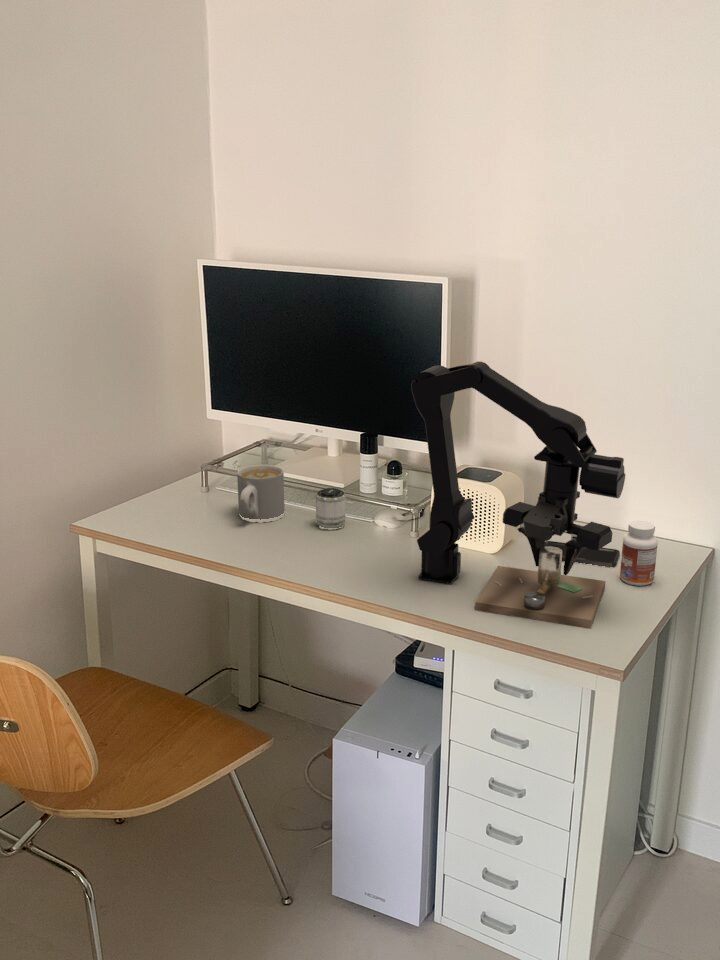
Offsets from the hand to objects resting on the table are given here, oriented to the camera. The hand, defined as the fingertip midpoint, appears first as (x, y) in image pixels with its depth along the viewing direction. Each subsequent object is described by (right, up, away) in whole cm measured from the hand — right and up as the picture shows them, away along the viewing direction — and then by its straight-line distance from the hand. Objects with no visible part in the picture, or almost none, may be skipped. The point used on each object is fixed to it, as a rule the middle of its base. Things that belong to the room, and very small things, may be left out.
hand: (551, 570), depth 181 cm
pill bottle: (+17, -3, +9) cm, 20 cm away
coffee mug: (-56, +8, +41) cm, 70 cm away
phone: (+9, 0, +20) cm, 22 cm away
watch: (-23, +8, +41) cm, 48 cm away
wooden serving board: (-2, -5, +1) cm, 6 cm away
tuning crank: (-2, -4, -1) cm, 5 cm away
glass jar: (-40, +6, +36) cm, 54 cm away
